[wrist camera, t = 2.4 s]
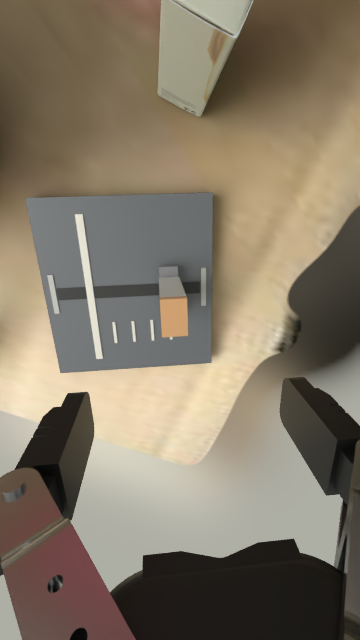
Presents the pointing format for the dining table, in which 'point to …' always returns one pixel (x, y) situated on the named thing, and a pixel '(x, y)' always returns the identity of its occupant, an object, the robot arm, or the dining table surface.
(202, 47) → the skincare box
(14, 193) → the dining table surface
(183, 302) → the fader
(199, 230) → the console
